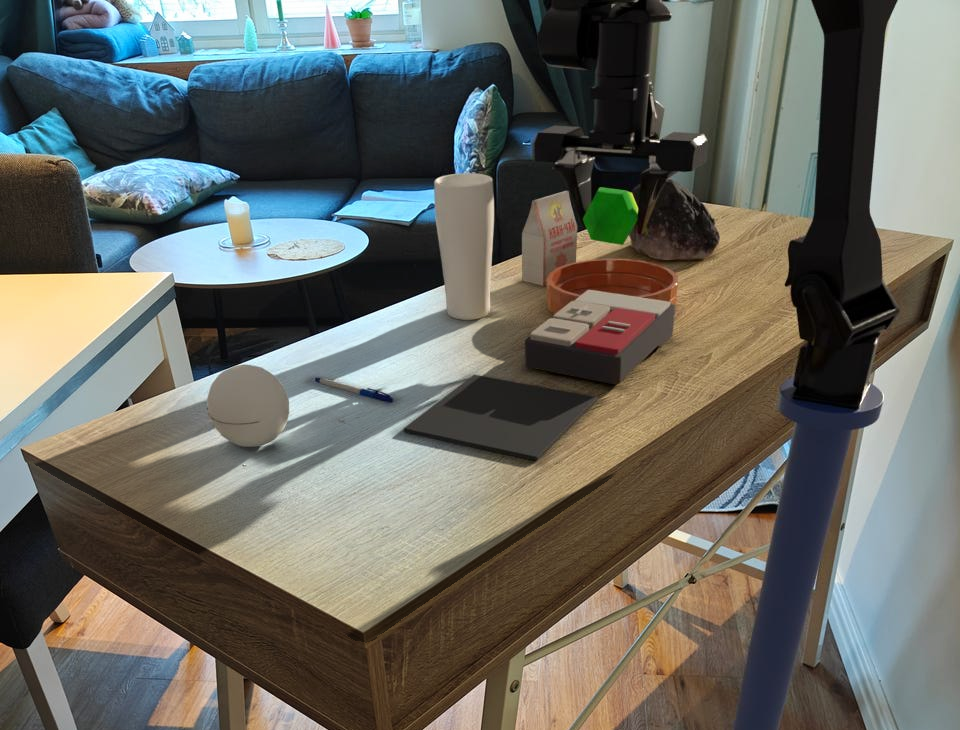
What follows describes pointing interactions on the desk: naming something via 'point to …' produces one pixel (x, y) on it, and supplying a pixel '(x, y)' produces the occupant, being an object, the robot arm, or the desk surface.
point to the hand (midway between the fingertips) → (613, 231)
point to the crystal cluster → (676, 226)
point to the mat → (502, 416)
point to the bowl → (610, 281)
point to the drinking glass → (465, 241)
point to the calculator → (600, 336)
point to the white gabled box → (548, 237)
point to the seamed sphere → (248, 405)
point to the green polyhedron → (611, 216)
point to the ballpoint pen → (357, 390)
